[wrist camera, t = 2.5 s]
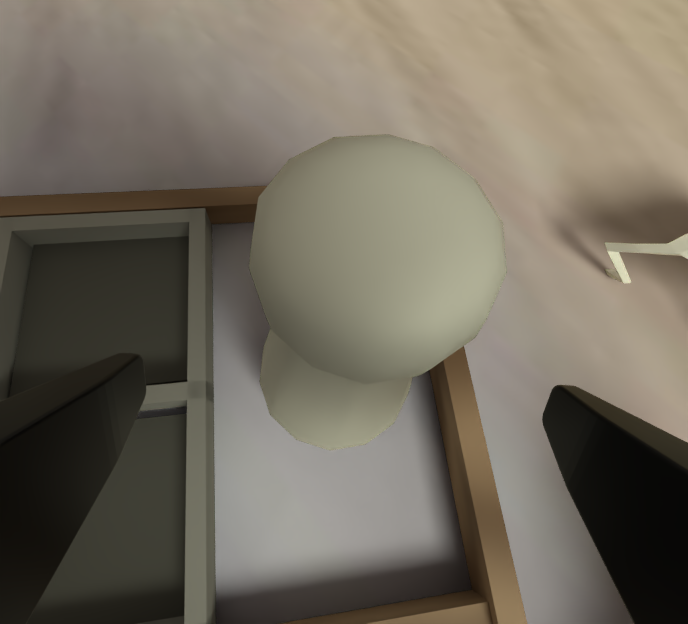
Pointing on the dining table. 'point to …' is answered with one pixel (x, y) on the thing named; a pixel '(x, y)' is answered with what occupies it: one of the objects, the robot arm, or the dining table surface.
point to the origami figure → (677, 247)
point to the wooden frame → (453, 411)
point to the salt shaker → (367, 280)
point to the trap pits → (147, 433)
